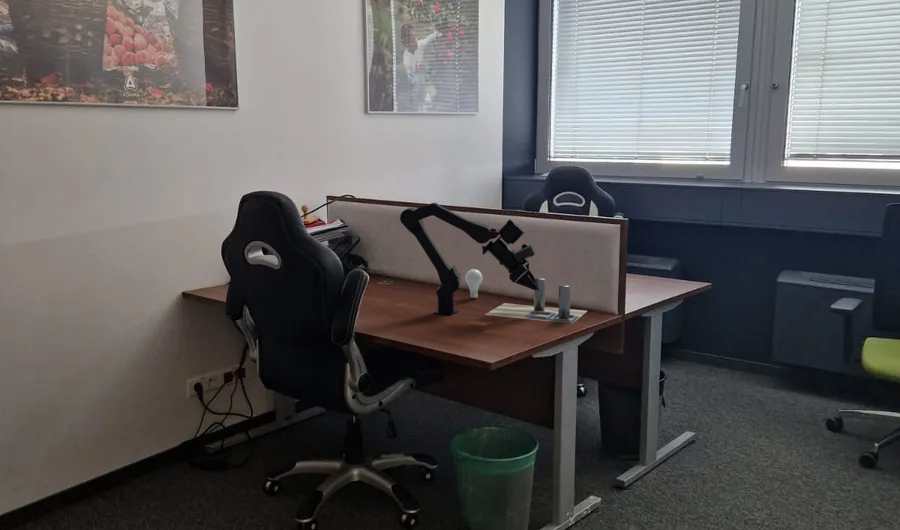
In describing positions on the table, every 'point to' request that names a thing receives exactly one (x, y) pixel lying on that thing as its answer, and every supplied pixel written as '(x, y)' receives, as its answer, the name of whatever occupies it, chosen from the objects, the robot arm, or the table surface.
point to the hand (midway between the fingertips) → (536, 286)
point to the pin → (539, 294)
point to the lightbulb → (473, 281)
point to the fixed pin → (564, 302)
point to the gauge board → (534, 313)
